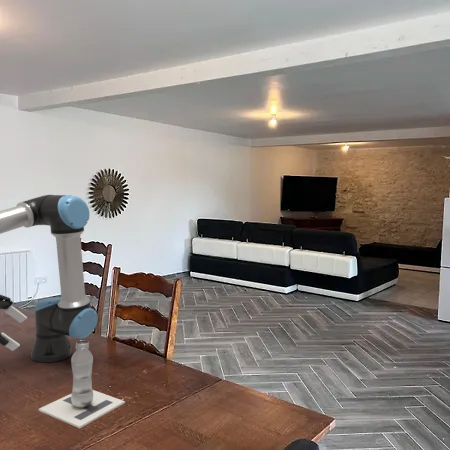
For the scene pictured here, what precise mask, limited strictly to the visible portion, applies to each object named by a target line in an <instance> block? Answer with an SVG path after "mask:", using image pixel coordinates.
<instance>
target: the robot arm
mask: <svg viewBox="0 0 450 450" xmlns="http://www.w3.org/2000/svg"><path fill="white" fill-rule="evenodd" d="M89 220H90V209H89V206H88V204H87V202H86V201H85V200H83V199H82V198H81V197H78V196H76V195H71V194H69V195H66V194H63V195H62V194H43V195H41V196H38V197H34V198H31V199H27V200H24V201H20V202H18V203H17V204H16V206H13V207H10V208H5V209H3V210H0V235H1V234H5V233H7V232H10V231H13V230H16V229H18V228H23V227H24V228H31V227H35V226H36V227H37V226H50V227H49V228H50V234H51V235H52V236H53V237H55V241H56V243H55V244H56V251H57V252H56V253H57V265H58V275H59V276H58V277H59V285H60V287H59V288H60V296H59V297H58V296H57V297H48V298H44V299H40V300H38V301H37V302H36V303H35V308H34V312H35V313H34V314H35V316H34V318H35V320H34V321H35V338H34V342H33V346H32V349H31V350H30V359H31V360H32V361H35V362H38V363H53V362H54V363H55V362H60V361H62V360H64V359H65V360H66V359H68V358H69V357H71V355H72V346H71V343H70V341H69V340H70V339H69V338H68V337H70V338H72V339H84V338H87V337H89V335H91V334H92V333H93V332H94V330H95V329H96V327H97V323H98V321H99V319H98V318H99V317H98V313H97V311H96V310H95V309H94V308H91V300H90V298H89V297H87V296H86V289H85V277H84V266H83V265H84V264H83V252H82V241H81V239H82V237H81V235H83V234H84V233H83V232H85V226H87V224H88V221H89ZM13 304H14V301H13V300H12V299H11V298H10V297H9V296H5V295H3V294H0V310H5V311H4V313H6V314H7V315H9V316H10V317H11V318H12V319H14V320H15V321H17V322H18V323H20V324H22V323H23V322H24V321H26V320H27V319H28V317H27V316H26V315H25V314H23V313H22V312H21V311H20V310H19V309H17V308H16V307H14V305H13ZM0 345H2V346H3V347H6V348H7V349H9V350H10V351H12V352H13V351H15V350H17V349H18V347H20V345H21V344H20V343H19V342H17V341H16V340H14V339H13V338H11V337H10V336H9V335H7V334H6V333H5V332H3V331H2V332H0Z"/></svg>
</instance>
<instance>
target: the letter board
mask: <svg viewBox="0 0 450 450" xmlns="http://www.w3.org/2000/svg"><path fill="white" fill-rule="evenodd" d="M71 395H72V393H70V394H67V395H65V396H63V397H61V398H59V399H57V400H55V401H53V402H49V403H48V404H46V405H43V406H42V407H40V408H38V412H40V413H43V414H45V415H47V416H50V417H52V418H54V419H55V420H59V421H61V422H63V423H66V424H68V425H71V426H73V427H75V428H78V429H79V430H81V428H83V427H85V426H87V425H89V424H91V423H93V422H94V421H96V420H98V419H99V418H101V417H103V416H105V415H106V414H108V413H110V412H112V411H113V410H115V409H117V408H119V407H121V406H122V405H124V404H126V402H125V401H124V400H122V399H120V398H117V397H114V396H111V395H108V394H107V393H106V394H105V393H103V392H100V391H97V390H95V389H93V395H94V397H93V402H92V403H91V405H89V406H87V407H83V408H78V407H75V406H74V405H73V404H72V401H71Z"/></svg>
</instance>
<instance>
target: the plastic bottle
mask: <svg viewBox="0 0 450 450" xmlns="http://www.w3.org/2000/svg"><path fill="white" fill-rule="evenodd" d="M75 343H76V344H75V351H74V352H73V353H72V356H71V359H70V363H71V370H72V371H71V372H72V391H71V394H72V395H71V401H72V404H73V405H74V406H75V407H78V408H83V407H87V406H89V405H91V403H92V402H93V397H94V395H93V390H94V389H93V384H92V371H93V363H94V357H93V353H92V352H91V351H90V350H89V349H90V346H89V345H90V342H89V340H85V339H83V340H78V341H76V342H75Z"/></svg>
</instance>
